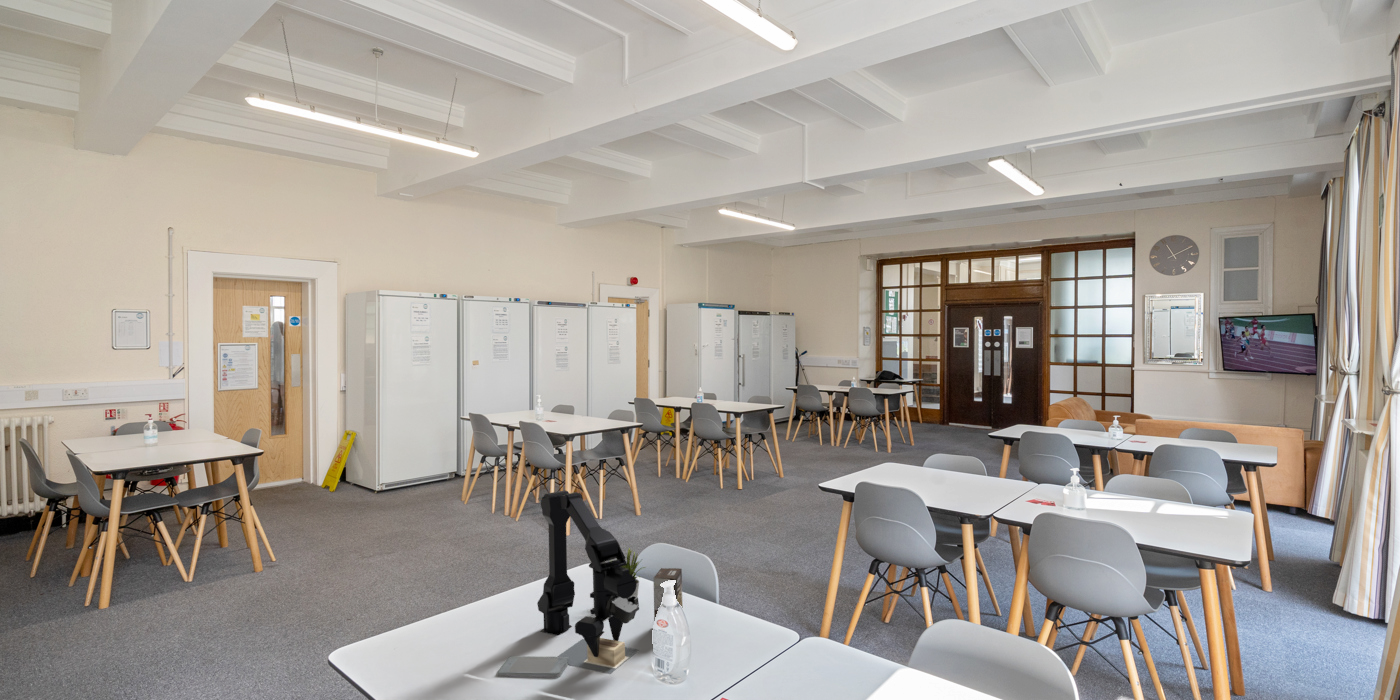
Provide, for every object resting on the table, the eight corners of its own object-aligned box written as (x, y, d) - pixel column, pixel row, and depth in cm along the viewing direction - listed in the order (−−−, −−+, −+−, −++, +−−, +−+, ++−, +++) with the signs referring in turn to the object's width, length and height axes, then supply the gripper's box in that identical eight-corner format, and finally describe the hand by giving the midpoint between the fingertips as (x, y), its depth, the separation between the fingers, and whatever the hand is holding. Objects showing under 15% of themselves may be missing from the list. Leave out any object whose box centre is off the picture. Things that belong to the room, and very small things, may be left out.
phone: (509, 660, 173) (509, 655, 173) (570, 661, 171) (569, 656, 171) (496, 677, 165) (496, 672, 165) (559, 678, 163) (559, 673, 163)
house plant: (605, 593, 220) (603, 543, 219) (647, 590, 221) (646, 541, 221) (603, 610, 205) (602, 557, 205) (649, 607, 207) (647, 554, 207)
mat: (550, 663, 172) (550, 661, 172) (582, 640, 184) (582, 638, 184) (610, 675, 164) (610, 673, 164) (639, 651, 177) (639, 649, 177)
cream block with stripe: (625, 657, 172) (624, 641, 172) (614, 666, 168) (614, 649, 168) (598, 652, 176) (598, 636, 176) (587, 661, 171) (587, 644, 171)
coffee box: (676, 637, 185) (675, 578, 185) (654, 636, 186) (652, 577, 186) (684, 624, 194) (682, 567, 194) (662, 622, 195) (660, 567, 195)
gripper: (611, 605, 160) (613, 671, 160) (650, 579, 177) (651, 639, 177) (572, 599, 164) (574, 663, 164) (614, 574, 181) (615, 632, 181)
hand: (606, 649), depth 171 cm, fingers open, 9 cm apart
